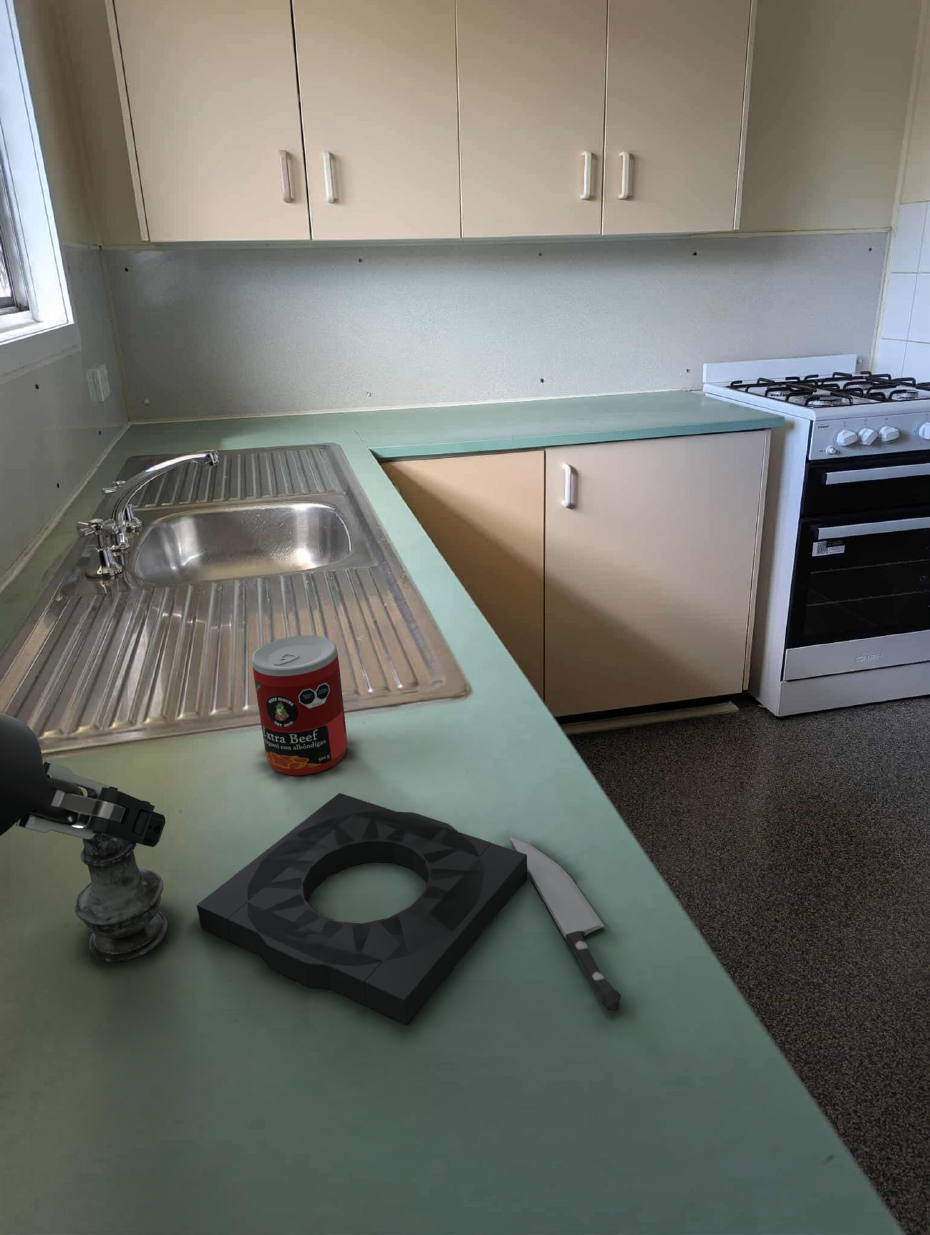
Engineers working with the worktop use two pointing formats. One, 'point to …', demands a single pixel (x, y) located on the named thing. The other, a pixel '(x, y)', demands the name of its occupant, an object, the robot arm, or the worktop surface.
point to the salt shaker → (119, 901)
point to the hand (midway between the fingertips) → (125, 823)
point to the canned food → (300, 703)
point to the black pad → (377, 950)
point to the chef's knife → (569, 915)
